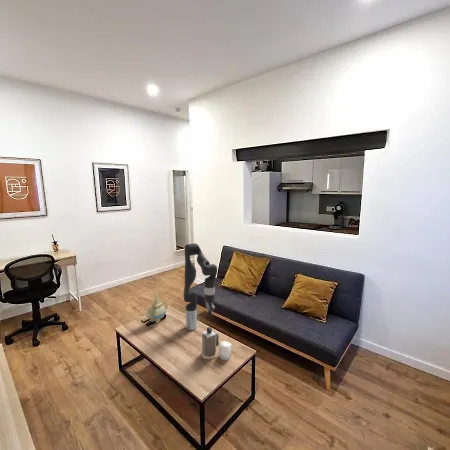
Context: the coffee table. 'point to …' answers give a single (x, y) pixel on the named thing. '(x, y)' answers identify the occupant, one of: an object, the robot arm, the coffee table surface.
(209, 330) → the plunger
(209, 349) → the carafe
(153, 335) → the coffee table surface
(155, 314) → the teapot
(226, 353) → the mug
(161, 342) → the coffee table surface
